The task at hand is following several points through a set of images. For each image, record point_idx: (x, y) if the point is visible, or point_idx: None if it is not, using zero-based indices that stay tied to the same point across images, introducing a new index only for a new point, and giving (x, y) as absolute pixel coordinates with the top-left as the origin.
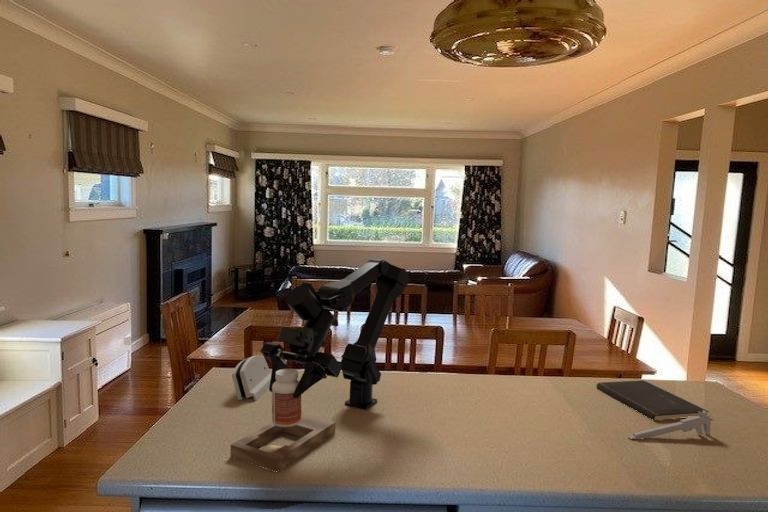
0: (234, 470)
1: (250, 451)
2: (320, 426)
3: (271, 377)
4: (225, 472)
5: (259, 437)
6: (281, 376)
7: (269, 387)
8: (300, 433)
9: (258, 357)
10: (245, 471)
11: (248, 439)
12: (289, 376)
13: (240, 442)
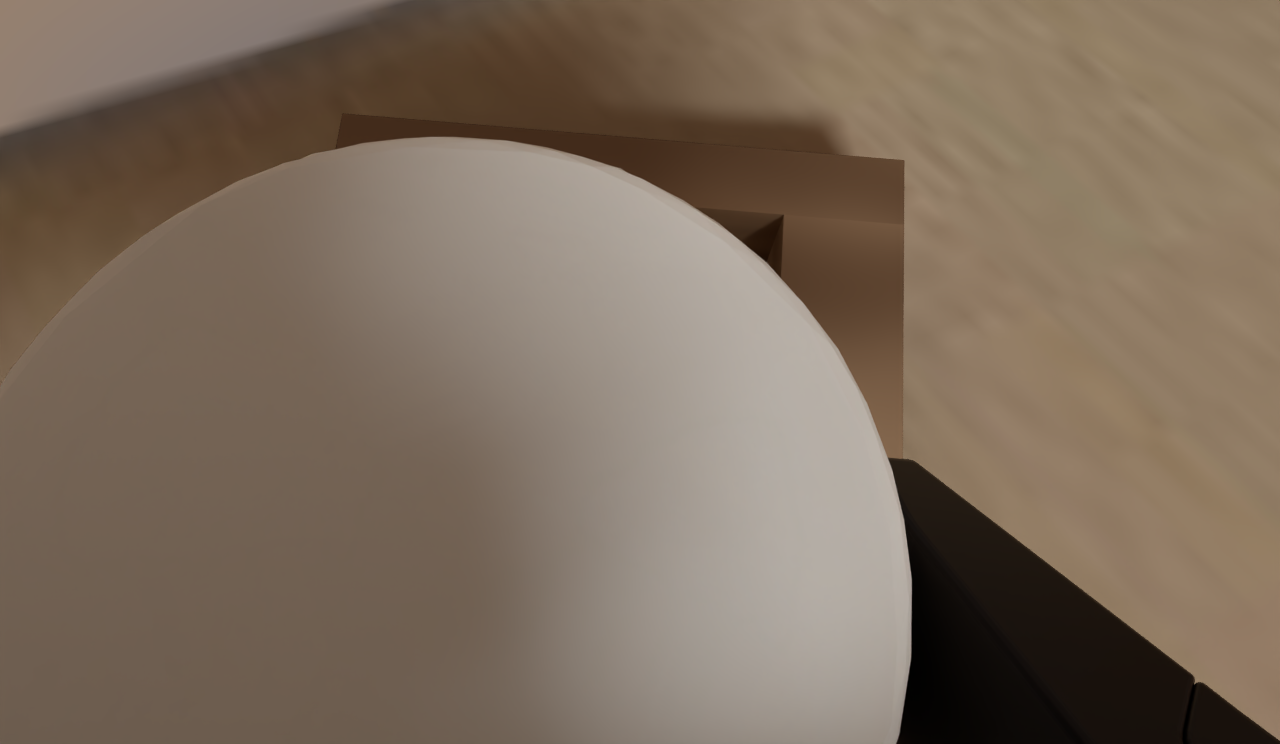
0: (691, 71)
1: (651, 141)
2: None
3: (1090, 611)
4: (731, 26)
5: None
6: (402, 148)
7: (932, 476)
8: None
9: None
10: (606, 93)
11: (830, 309)
12: (113, 271)
13: (853, 228)
